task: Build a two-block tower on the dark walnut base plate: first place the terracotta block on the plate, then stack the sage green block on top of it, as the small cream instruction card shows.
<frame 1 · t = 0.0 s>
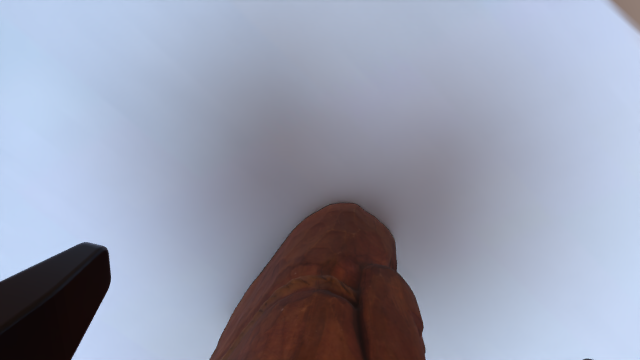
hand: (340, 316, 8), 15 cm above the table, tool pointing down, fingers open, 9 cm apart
wooden figurine: (313, 276, 26), on the table
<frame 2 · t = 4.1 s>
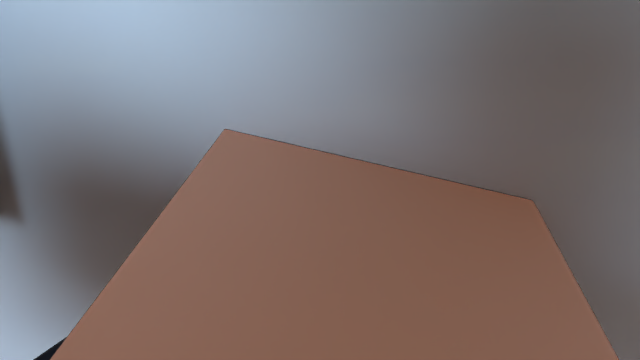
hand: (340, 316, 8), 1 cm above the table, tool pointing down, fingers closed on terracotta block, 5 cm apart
terracotta block: (343, 276, 9), on the table, touching gripper
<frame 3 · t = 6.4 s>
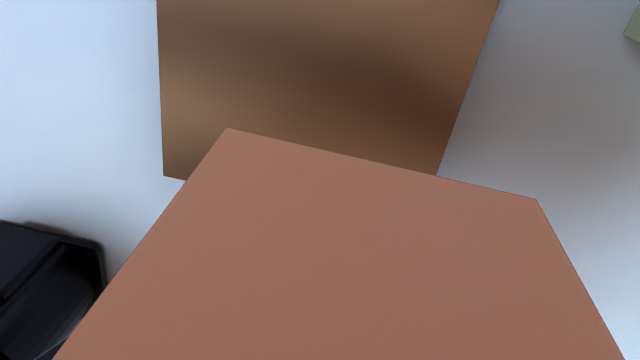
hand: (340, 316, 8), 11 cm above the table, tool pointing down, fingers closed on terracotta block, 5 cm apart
walnut plate: (313, 66, 17), on the table
terracotta block: (345, 276, 9), point 10 cm above the table, touching gripper
when the fingers open (3 cm above the table, at t = 8.4 s): terracotta block stays where it is, resting on walnut plate.
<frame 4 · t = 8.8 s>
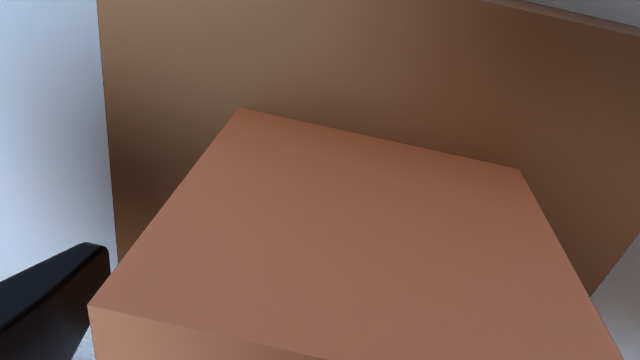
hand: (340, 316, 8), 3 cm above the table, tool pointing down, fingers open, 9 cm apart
walnut plate: (352, 208, 11), on the table
terracotta block: (348, 245, 10), point 1 cm above the table, touching walnut plate
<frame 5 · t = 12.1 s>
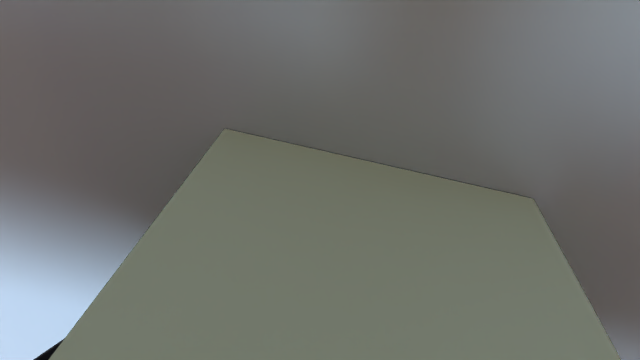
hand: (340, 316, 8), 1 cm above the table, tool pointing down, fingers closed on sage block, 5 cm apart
sage block: (344, 275, 9), on the table, touching gripper
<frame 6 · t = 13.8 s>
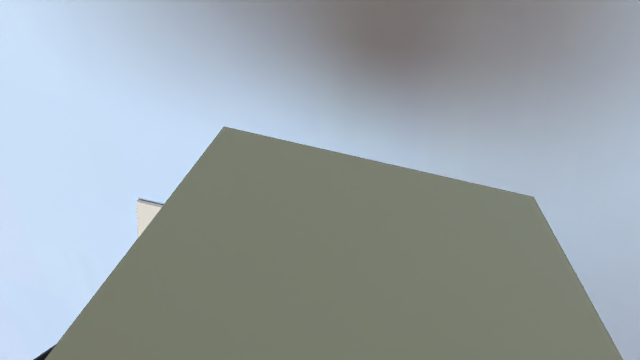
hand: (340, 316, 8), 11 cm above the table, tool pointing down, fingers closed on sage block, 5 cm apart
instruction card: (210, 285, 24), on the table
sage block: (344, 274, 9), point 10 cm above the table, touching gripper
when the fingers open (8 cm above the table, at t = 15.9 s): sage block stays where it is, resting on terracotta block.
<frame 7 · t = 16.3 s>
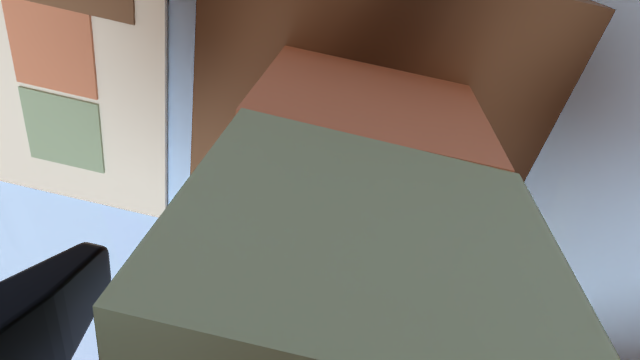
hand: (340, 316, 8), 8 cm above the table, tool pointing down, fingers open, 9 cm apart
walnut plate: (359, 128, 15), on the table
instruction card: (61, 85, 16), on the table
sage block: (347, 246, 10), point 6 cm above the table, touching terracotta block
terracotta block: (356, 147, 14), point 1 cm above the table, touching sage block, walnut plate
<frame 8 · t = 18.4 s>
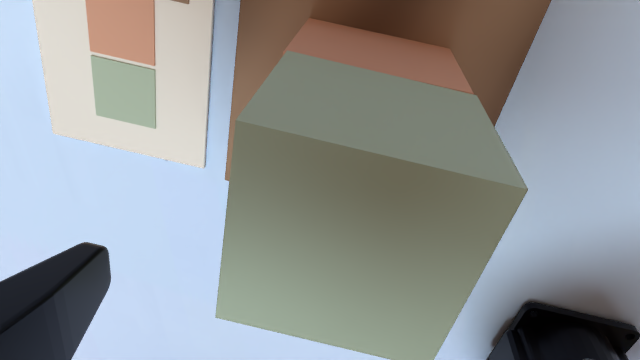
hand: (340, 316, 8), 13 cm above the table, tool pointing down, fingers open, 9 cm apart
walnut plate: (364, 88, 19), on the table
instruction card: (125, 54, 20), on the table
sage block: (358, 156, 14), point 6 cm above the table, touching terracotta block
terracotta block: (362, 100, 18), point 1 cm above the table, touching sage block, walnut plate
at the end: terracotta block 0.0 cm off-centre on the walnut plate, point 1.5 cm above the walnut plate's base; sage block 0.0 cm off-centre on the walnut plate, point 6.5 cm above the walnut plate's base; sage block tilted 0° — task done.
